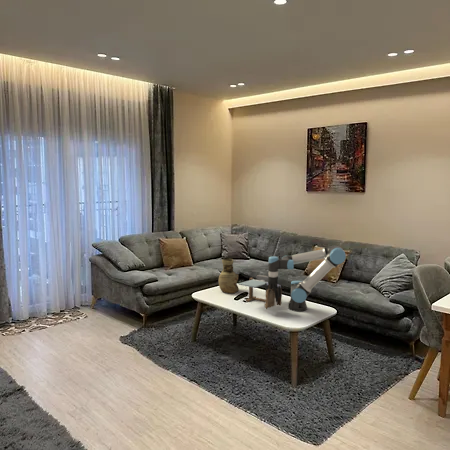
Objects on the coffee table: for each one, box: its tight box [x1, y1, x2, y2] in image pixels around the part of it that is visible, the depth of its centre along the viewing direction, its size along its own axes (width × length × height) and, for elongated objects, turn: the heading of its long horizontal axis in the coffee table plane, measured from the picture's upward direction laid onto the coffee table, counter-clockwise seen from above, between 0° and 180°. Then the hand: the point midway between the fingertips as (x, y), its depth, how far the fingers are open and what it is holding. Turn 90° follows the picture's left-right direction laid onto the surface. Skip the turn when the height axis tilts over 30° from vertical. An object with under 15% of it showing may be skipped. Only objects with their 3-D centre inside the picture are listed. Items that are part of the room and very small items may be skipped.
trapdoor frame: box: [245, 277, 269, 303], centre depth 344 cm, size 22×12×20 cm, turn 55°
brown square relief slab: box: [264, 287, 283, 310], centre depth 318 cm, size 17×4×15 cm, turn 127°
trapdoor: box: [237, 274, 269, 289], centre depth 338 cm, size 16×33×7 cm, turn 145°
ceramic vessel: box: [218, 258, 240, 294], centre depth 374 cm, size 19×21×30 cm
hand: (272, 304), depth 318 cm, fingers closed on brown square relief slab, 4 cm apart
